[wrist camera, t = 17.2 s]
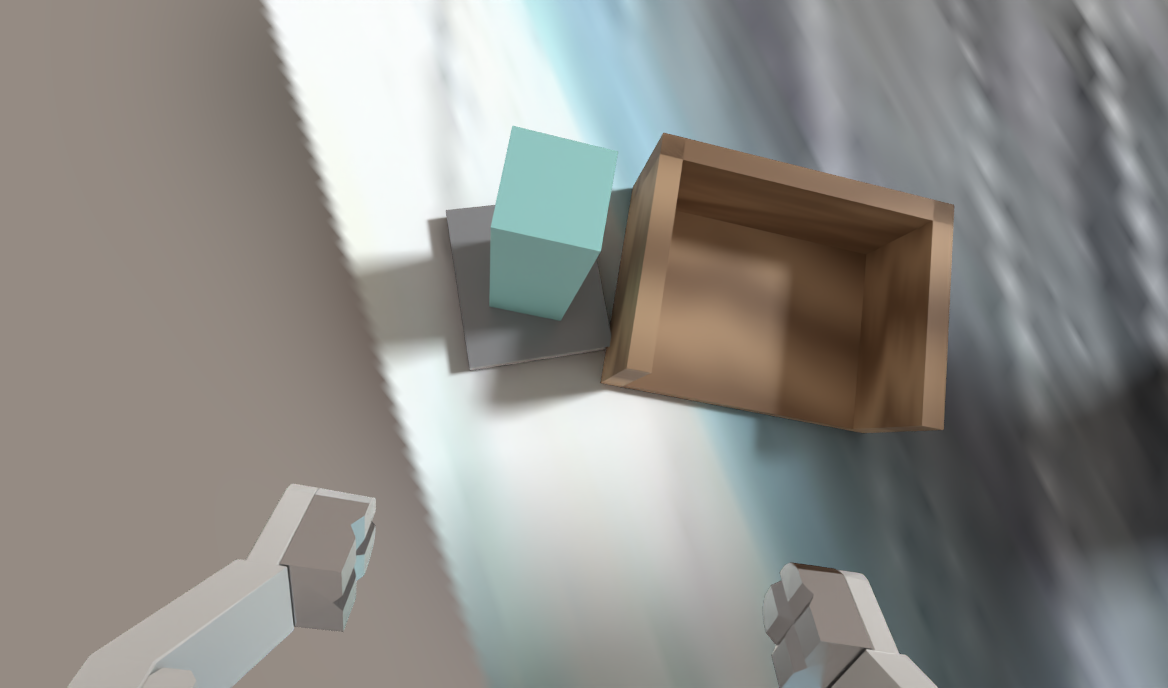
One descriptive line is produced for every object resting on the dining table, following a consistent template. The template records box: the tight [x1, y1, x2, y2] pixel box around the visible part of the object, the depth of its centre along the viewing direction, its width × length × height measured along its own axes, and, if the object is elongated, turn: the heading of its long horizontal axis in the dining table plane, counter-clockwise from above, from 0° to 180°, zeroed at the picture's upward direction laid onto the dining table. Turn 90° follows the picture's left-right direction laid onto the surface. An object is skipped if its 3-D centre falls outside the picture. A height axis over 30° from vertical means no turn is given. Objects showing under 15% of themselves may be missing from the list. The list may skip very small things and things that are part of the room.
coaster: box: [446, 205, 611, 371], centre depth 34 cm, size 8×9×1 cm
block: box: [489, 126, 618, 321], centre depth 27 cm, size 4×4×12 cm
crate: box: [601, 133, 954, 433], centre depth 33 cm, size 12×16×6 cm
